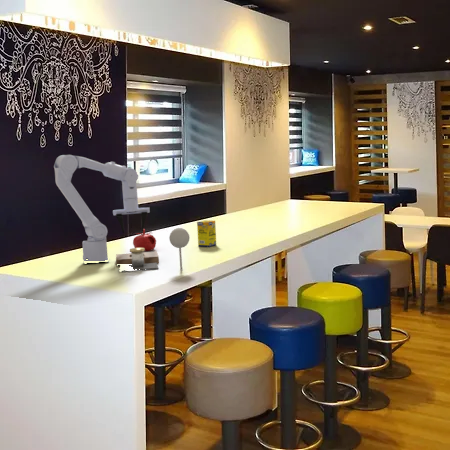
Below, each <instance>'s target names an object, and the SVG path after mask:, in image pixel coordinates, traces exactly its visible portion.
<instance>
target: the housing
mask: <svg viewBox="0 0 450 450" xmlns="http://www.w3.org/2000/svg"><path fill="white" fill-rule="evenodd" d="M143 253H144V264H145V263H157V264H159V263H160V256H159V254H158V252H157V250H156V251H143ZM115 264H132V255H131V252H130V253H117V254H116V255H115Z"/></svg>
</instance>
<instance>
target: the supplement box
mask: <svg viewBox="0 0 450 450" xmlns="http://www.w3.org/2000/svg"><path fill="white" fill-rule="evenodd" d="M196 224H197V226H196V227H197V228H196V229H197V243H198V244H197V245H198V248H199V247H200V248H210V247H215V246H216V245H217V233H216V232H217V231H216V230H217V229H216V220H200V221H197V222H196Z"/></svg>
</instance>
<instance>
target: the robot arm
mask: <svg viewBox="0 0 450 450" xmlns="http://www.w3.org/2000/svg"><path fill="white" fill-rule="evenodd" d="M53 168H54V178H55V184H56V186H57V187H58V190H60V192H61V193H62V195H63V196H64V197H65V199H66V200H67V202H68V203H69V205H70V206H71V208H72V209H73V210H74V211H75V213H76V215H77V216H78V218H79V220H81V222H82V226H83V227H84V230H85V234H86V235H87V236H88V237H87V240H83V241H82V259H83V262H84V261H105V260H108V258H109V257H108V246H107V245H108V243H107V235H108V233H109V232H108V231H109V230H108V228H107V226H106V225H105V224H103V223H102V222H101V221H100V220H99V218H97V217H96V216H95V215H94V214H93V212H92V211H91V209H90V208H89V206H88V205H87V203H86V202H85V201H84V199H83V198H82V196H81V195H80V193H79V192H78V191H77V189H76V188H75V186H74V185H73V183H72V177H73V174H74V173H75V171H76V170H77V169H81V168H87V169H88V170H89V169H90V170H93V171H97V172H98V171H99V172H101V173H102V174H103V176H104V177H106V178H107V177H108V178H110V179H114V180H116V181H121V184H122V185H121V189H122V199H123V208H122V209H114V210H112V214H113V216H115V217H116V220H117V221H118V222H119V225H120V228H121V232H122V233H123V234H125V228H124V217H123V215H134V214H140V222H141V232H143V231H144V229H145V222H146V219H147V217H148V213H150V212H151V211H150V207H139V201H138V186H137V185H138V184H137V181H138V179H139V174H138V172H137V170H135V168H131V167H129V168H128V167H127V166H126V165H125V164H124V165H120V164H117V163H116V161H110V162H109V161H108V162H105V163H101V162H99V161H97V160H93V159H90V158H87V157H84V156H79V155H72V154H62V155H59V156H58V157H56V159H55V162H54V165H53ZM86 259H88V260H86Z"/></svg>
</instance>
